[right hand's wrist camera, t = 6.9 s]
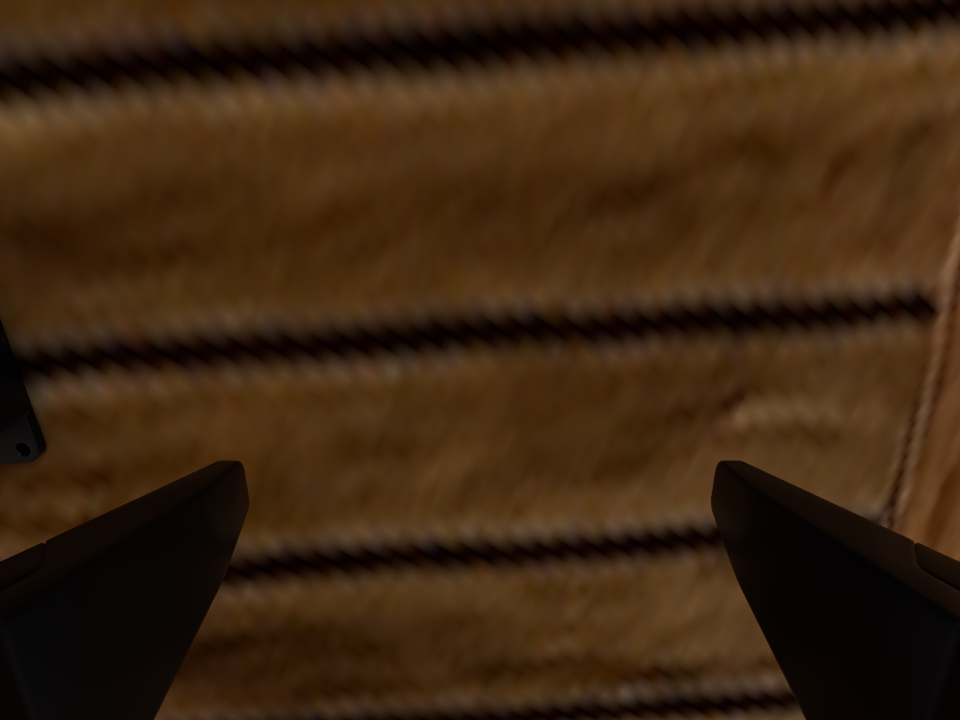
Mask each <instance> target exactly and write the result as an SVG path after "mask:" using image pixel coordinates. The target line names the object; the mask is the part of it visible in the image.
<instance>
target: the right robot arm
mask: <svg viewBox="0 0 960 720" xmlns="http://www.w3.org/2000/svg"><path fill="white" fill-rule="evenodd" d="M24 443H25V444H27V445H28V446H29V447H30V448H31V450H30V449H28V448H27V447H26V446H25V444H24ZM45 450H46V443H45V440H44V437H43V435H42V432H41V429H40V426H39V424H38V421H37V418H36V416H35V413H34V410H33V407H32V405H31V402H30V399H29V397H28V394H27V391H26V388H25V386H24V383H23V380H22V378H21V375H20V372H19V369H18V367H17V364H16V361H15V359H14V356H13V353H12V350H11V348H10V345H9V342H8V340H7V337H6V334H5V331H4V329H3V326H2V323H1V321H0V464H7V463H22V462H31V461H34V460H35V459H37V458H38V457H39V456H41V455H42V454H43V453H44V452H45ZM248 507H249V496H248V490H247V483H246V477H245V471H244V467H243V465H242V463H241V462H240V461H217V462H215V463H213V464H211V465H209V466H206V467H204V468H202V469H200V470H198V471H196V472H193V473H191V474H189V475H187V476H185V477H183V478H181V479H178V480H176V481H174V482H172V483H170V484H168V485H165V486H163V487H161V488H159V489H157V490H155V491H153V492H150V493H148V494H146V495H144V496H142V497H140V498H137V499H135V500H133V501H131V502H129V503H127V504H125V505H122V506H120V507H118V508H116V509H114V510H112V511H109V512H107V513H105V514H103V515H101V516H99V517H97V518H94V519H92V520H90V521H88V522H86V523H84V524H81V525H79V526H77V527H75V528H73V529H71V530H68V531H66V532H64V533H62V534H60V535H58V536H56V537H53V538H51V539H49V540H47V541H46V543H45V544H44V543H40V544H38V545H36V546H34V547H32V548H29V549H27V550H25V551H23V552H21V553H19V554H16V555H14V556H12V557H10V558H7V559H5V560H3V561H1V562H0V720H154V719H155V717H156V715H157V713H158V711H159V709H160V706H161V704H162V702H163V700H164V698H165V696H166V694H167V692H168V690H169V688H170V686H171V684H172V682H173V680H174V678H175V676H176V674H177V672H178V670H179V668H180V666H181V664H182V662H183V660H184V658H185V656H186V654H187V652H188V650H189V648H190V646H191V644H192V642H193V640H194V638H195V636H196V634H197V632H198V630H199V628H200V626H201V624H202V622H203V620H204V618H205V616H206V614H207V612H208V609H209V607H210V605H211V603H212V601H213V599H214V597H215V595H216V593H217V591H218V589H219V587H220V585H221V583H222V581H223V578H224V576H225V573H226V571H227V568H228V565H229V562H230V560H231V557H232V554H233V551H234V548H235V546H236V543H237V540H238V537H239V534H240V532H241V529H242V526H243V523H244V520H245V517H246V515H247V512H248ZM711 507H712V512H713V515H714V517H715V520H716V523H717V526H718V529H719V532H720V534H721V537H722V540H723V543H724V546H725V548H726V551H727V554H728V557H729V560H730V562H731V565H732V568H733V571H734V573H735V576H736V578H737V581H738V583H739V585H740V587H741V589H742V591H743V593H744V595H745V597H746V599H747V601H748V603H749V605H750V607H751V609H752V612H753V614H754V616H755V618H756V620H757V622H758V624H759V626H760V628H761V630H762V632H763V634H764V636H765V638H766V640H767V642H768V644H769V646H770V648H771V650H772V652H773V654H774V656H775V658H776V660H777V662H778V664H779V666H780V668H781V670H782V672H783V674H784V676H785V678H786V680H787V682H788V684H789V686H790V688H791V690H792V692H793V694H794V696H795V698H796V700H797V702H798V704H799V706H800V709H801V711H802V713H803V715H804V717H805V719H806V720H960V562H959V561H957V560H955V559H953V558H950V557H948V556H946V555H944V554H941V553H939V552H937V551H935V550H933V549H931V548H928V547H926V546H924V545H922V544H920V543H916V544H915V543H914V541H913V540H911V539H909V538H907V537H904V536H902V535H900V534H898V533H896V532H894V531H892V530H889V529H887V528H885V527H883V526H881V525H879V524H876V523H874V522H872V521H870V520H868V519H866V518H863V517H861V516H859V515H857V514H855V513H853V512H851V511H848V510H846V509H844V508H842V507H840V506H838V505H835V504H833V503H831V502H829V501H827V500H825V499H823V498H820V497H818V496H816V495H814V494H812V493H810V492H807V491H805V490H803V489H801V488H799V487H797V486H795V485H792V484H790V483H788V482H786V481H784V480H782V479H779V478H777V477H775V476H773V475H771V474H769V473H767V472H764V471H762V470H760V469H758V468H756V467H754V466H751V465H749V464H747V463H745V462H743V461H720V462H719V463H718V465H717V467H716V471H715V477H714V483H713V490H712V496H711Z"/></svg>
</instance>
